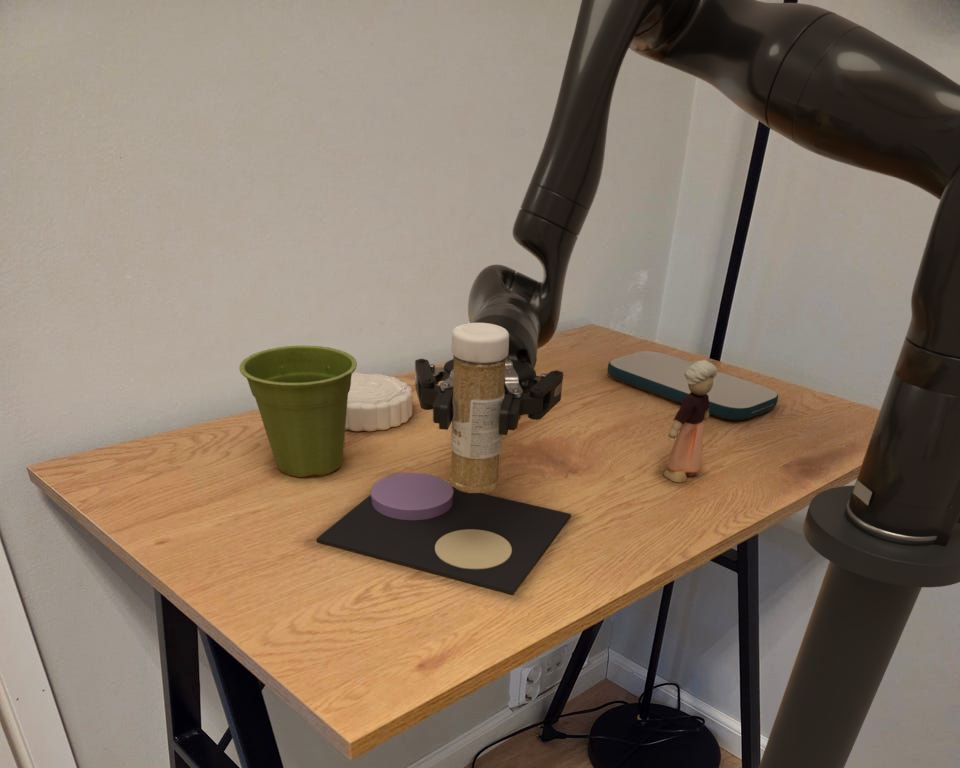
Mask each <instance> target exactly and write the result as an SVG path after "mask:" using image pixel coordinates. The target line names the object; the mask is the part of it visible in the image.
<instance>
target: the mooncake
mask: <svg viewBox="0 0 960 768" xmlns="http://www.w3.org/2000/svg"><path fill="white" fill-rule="evenodd" d="M412 416H413V389H412V387H410V386H409V385H408V383H407V382H405V381H401V379H399V378H397V377H395V376H388V375H386V374H384V373H361V372H353V373H352V376H351V386H350V391H349V392H348V400H347V412H346V423H345V431H348V430H350V431H352V432H362V431H364V432H368V433H369V432H370V433H371V432H375V431H386V430H389V429H390V428H397V427H400V426H401V424H405V423H407V422H408V421H409V420H410V418H411V417H412Z"/></svg>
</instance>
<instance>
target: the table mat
mask: <svg viewBox="0 0 960 768" xmlns="http://www.w3.org/2000/svg"><path fill="white" fill-rule="evenodd" d="M451 486H452V485H451ZM452 488H453V492H454V494H453V505H452V507H451V508H450V509H449V510H448V511H447V512H446V513H444V514H442V515H440V516H437V517H434V518H431V519H425V520H400V519H395V518H391V517H388V516H385V515H383V514H381V513H379V512H378V511H376V510H375V509H374V507H373V506H372V503H371V494H369V495H368V496H367V497H366V498H364V499H363V500H362V501H361V502H359V503H358V504H357V505H355V507H353V508H352V509H351V510H349V511H348V512H347V513H346V514H345V515H343V516H342V517H341V518H340V519H338V521H336V522H334V524H332V525H331V526H330V527H328V529H326V530H325V531H324V532H323V533H321V534H320V535H319V536H318V537H316V538H315V539H316V543H318V544H321V545H326V546H329V547H334V548H336V549H341V550H345V551H348V552H352V553H356V554H360V555H363V556H367V557H371V558H375V559H378V560H382V561H385V562H389V563H393V564H396V565H401V566H404V567H408V568H412V569H416V570H419V571H423V572H427V573H430V574H434V575H438V576H441V577H445V578H449V579H454V580H456V581H460V582H462V583H463V582H464V583H467V584H471V585H474V586H479V587H482V588H486V589H489V590H492V591H497V592H501V593H505V594H509V595H511V596H513V595H514V594H515V593H516V592H517V590H518V589H519V587H520V586H521V584H522V583H523V582H524V581H525V579H526V578H527V576H528V575H529V574H530V573H531V571H532V570H533V569H534V567H535V566H536V565H537V563H538V562H539V560H541V558H542V557H543V555H544V554H545V553H546V551H547V550H548V549H549V547H550V546H551V544H552V543H553V542H554V540H555V539H556V538H557V536H558V535H559V534H560V532H561V531H562V530H563V529H564V527H565V525H566V524H567V523H568V522H569V520H570V519H571V518H572V517H571V516H572V513H569V512H565V511H561V510H555V509H551V508H547V507H544V506H539V505H534V504H530V503H526V502H521V501H517V500H513V499H508V498H504V497H500V496H496V495H491V494H487V493H467V492H463V491H460V490H457V489H456V488H454V487H453V486H452Z"/></svg>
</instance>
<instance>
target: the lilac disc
mask: <svg viewBox="0 0 960 768" xmlns="http://www.w3.org/2000/svg"><path fill="white" fill-rule="evenodd" d="M453 494H454V492H453V488H452V485H451V483H450V482H449V481H447V480H446V479H445V478H442V477H440V476H437V475H433V474H429V473H422V472H400V473H399V472H398V473H395V474H390V475H387V476H383V477H382V478H380V479H378V480H377V481H375V482H374V483H373V484H372V486H371V488H370V495H371V503H372V506H373V507H374V509H375V510H376V511H378V512H379V513H381V514H383V515H385V516H388V517H391V518H395V519H400V520H425V519H431V518H434V517H437V516H440V515H442V514H444V513H446V512H447V511H448V510H449V509H450V508H451V507H452V505H453Z"/></svg>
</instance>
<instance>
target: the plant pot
mask: <svg viewBox="0 0 960 768" xmlns="http://www.w3.org/2000/svg"><path fill="white" fill-rule="evenodd" d="M357 367H358V361H357V359H356V358H355V357H354V356H353V355H352V354H350V353H348V352H346V351H344V350H341V349H337V348H333V347H329V346H323V345H322V346H321V345H286V346H279V347H272V348H268V349H265V350H261V351H258V352H255V353H252V354H250V355H249V356H247V357H246V358H244V359H243V360H241V362H240V364H239V372H240V374H241V375H242V376H243V377H244V378H246V380H247V383H248V385H249V386H248V387H249V389H250V392H251V394H252V396H253V397H254V398H255V402H256V405H257V407H258V411H259V414H260V418H261V420H262V424H263V427H264V431H265V434H266V437H267V440H268V443H269V446H270V449H271V454H272V456H273V459H274V463H275V465H276V467H277V469H278V470H279V471H281V472H282V473H284V474H285V475H289V476H292V477H297V478H306V477H308V476H311V475H317V476H325V475H328V474H330V473H333V472H334V471H337V469H339V468H340V467H341V465H342V464H343V457H344V445H345V435H346V430H345V423H346V412H347V400H348V392H349V391H350V386H351V376H352V373H355V371H356V370H357Z"/></svg>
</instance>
